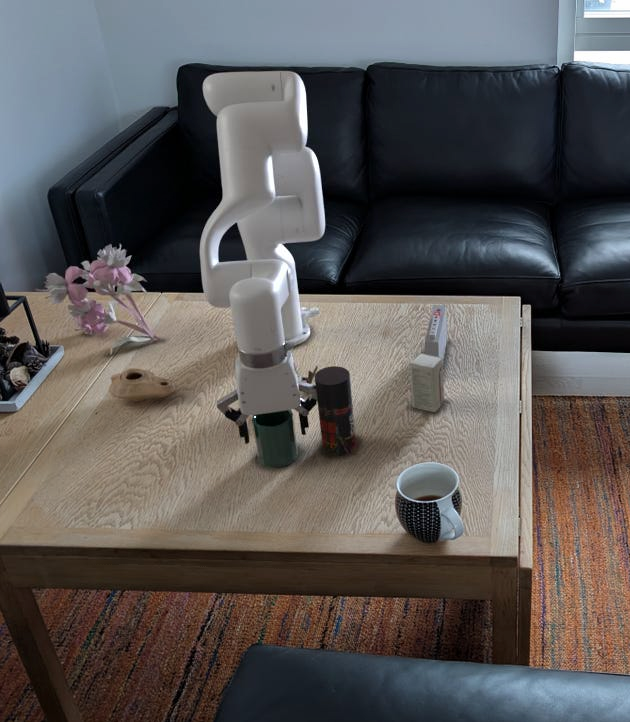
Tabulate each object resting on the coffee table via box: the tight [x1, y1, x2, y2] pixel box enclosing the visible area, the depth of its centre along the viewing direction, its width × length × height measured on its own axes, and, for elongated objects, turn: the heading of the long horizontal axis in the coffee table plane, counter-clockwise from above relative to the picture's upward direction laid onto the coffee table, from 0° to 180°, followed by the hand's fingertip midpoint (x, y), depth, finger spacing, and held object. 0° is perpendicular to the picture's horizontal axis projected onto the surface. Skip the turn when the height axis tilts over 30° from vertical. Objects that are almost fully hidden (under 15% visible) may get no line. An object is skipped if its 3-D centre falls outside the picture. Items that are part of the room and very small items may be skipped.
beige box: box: [409, 352, 445, 413], centre depth 158 cm, size 5×4×10 cm
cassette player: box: [424, 304, 448, 359], centre depth 172 cm, size 16×3×10 cm, turn 176°
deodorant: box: [314, 365, 357, 457], centre depth 146 cm, size 6×6×15 cm
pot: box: [251, 409, 299, 469], centre depth 145 cm, size 7×7×8 cm
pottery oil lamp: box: [108, 367, 176, 403], centre depth 160 cm, size 9×12×7 cm
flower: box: [35, 243, 161, 355], centre depth 177 cm, size 20×22×25 cm
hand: (275, 434), depth 145 cm, fingers open, 9 cm apart
